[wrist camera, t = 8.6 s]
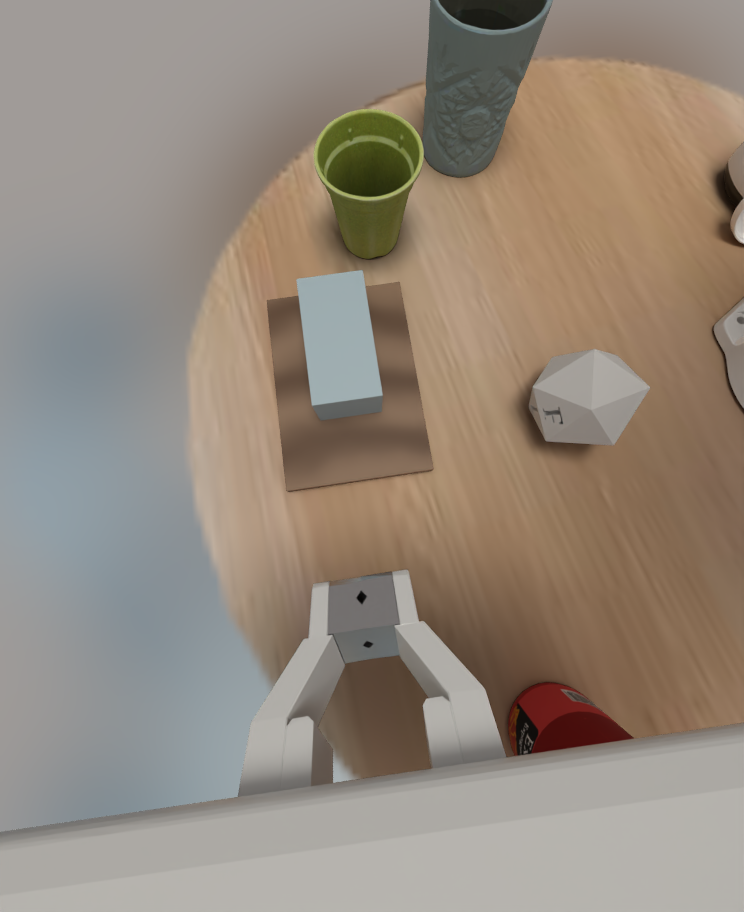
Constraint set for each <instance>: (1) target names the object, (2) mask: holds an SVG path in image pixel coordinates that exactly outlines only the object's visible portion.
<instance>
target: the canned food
mask: <svg viewBox="0 0 744 912" xmlns="http://www.w3.org/2000/svg"><path fill="white" fill-rule="evenodd" d="M508 729H509V737H510V742H511V747H512V750H513V752H514V755H515V756H520V755H527V754H533V753H540V752H547V751H554V750H561V749H567V748H574V747H581V746H588V745H595V744H601V743H608V742H615V741H622V740H629V739H634V738H633V737H632V736H631V735H630V734H628V733H627V732H626V731H625V730H624V729H623V728H621V727H620V726H619V725H618V724H617V723H616V722H614V721H613V720H612V719H611V718H610V717H609V716H607V715H606V714H605V713H604V712H603V711H602V710H600V709H599V708H598V707H597V706H596V705H595V704H593V703H592V702H591V701H590V700H589V699H588V698H587V697H585V696H584V695H582V694H581V693H580V692H578V691H576V690H574V689H572V688H570V687H568V686H565V685H561V684H557V683H547V682H546V683H540V684H536V685H534V686H531V687H529V688H528V689H526V690H525V691H523V692H522V693H521V694H520V695H519V696H518V697H517V699H516V701H515V702H514V704H513V706H512V709H511V711H510V715H509V721H508Z"/></svg>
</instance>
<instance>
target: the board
mask: <svg viewBox="0 0 744 912" xmlns="http://www.w3.org/2000/svg"><path fill="white" fill-rule="evenodd" d="M365 288H366V294H367V301H368V307H369V313H370V319H371V325H372V332H373V338H374V344H375V350H376V356H377V363H378V369H379V375H380V381H381V387H382V394H383V400H382V412H377V413H370V414H363V415H356V416H349V417H342V418H335V419H328V420H320V419H319V417H318V415H317V414H316V412H315V410H314V408H313V407H312V402H311V394H310V386H309V378H308V369H307V361H306V353H305V345H304V337H303V328H302V320H301V312H300V304H299V296H294V297H287V298H279V299H272V300H267V308H268V318H269V328H270V337H271V347H272V357H273V367H274V376H275V386H276V396H277V406H278V415H279V425H280V435H281V444H282V454H283V464H284V474H285V483H286V491H288V492H290V491H297V490H304V489H311V488H317V487H324V486H331V485H337V484H344V483H351V482H358V481H364V480H371V479H378V478H385V477H391V476H398V475H405V474H412V473H418V472H425V471H432V470H433V469H434V468H433V463H432V457H431V452H430V446H429V441H428V435H427V430H426V424H425V419H424V413H423V408H422V402H421V397H420V391H419V386H418V380H417V375H416V369H415V364H414V358H413V353H412V347H411V342H410V336H409V331H408V325H407V320H406V315H405V309H404V304H403V298H402V293H401V287H400V282H395V283H388V284H381V285H374V286H366V287H365Z"/></svg>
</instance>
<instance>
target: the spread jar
mask: <svg viewBox="0 0 744 912" xmlns="http://www.w3.org/2000/svg"><path fill="white" fill-rule="evenodd" d="M725 188H726V193H727V195H728V197H729V199H730V200H731V202H732V203H733V204H734V205H735V206H736V209H735V211H734V213H733V215H732V218H731V222H730V227H731V230H732V233H733V235H734V236H735V238H736V239H737V240H738V241H739V242H740V243H742V244H744V142H743V143H742V144H741V145H740V146H739V147H738V148H737V150H736V151H735V152H734V153H733V154H732V156H731V157H730V159H729V160H728V163H727V165H726V169H725Z"/></svg>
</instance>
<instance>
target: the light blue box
mask: <svg viewBox="0 0 744 912" xmlns="http://www.w3.org/2000/svg"><path fill="white" fill-rule="evenodd" d="M297 287H298V295H299V304H300V312H301V320H302V328H303V337H304V345H305V353H306V361H307V369H308V378H309V386H310V394H311V402H312V407H313V408H314V410H315V412H316V414H317V415H318V417H319V419H320V420H328V419H335V418H342V417H349V416H356V415H363V414H370V413H377V412H382V400H383V394H382V387H381V381H380V375H379V369H378V363H377V356H376V350H375V344H374V338H373V332H372V325H371V319H370V313H369V307H368V301H367V294H366V288H365V282H364V276H363V270H359V271H352V272H345V273H337V274H330V275H323V276H316V277H308V278H301V279H297Z"/></svg>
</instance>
